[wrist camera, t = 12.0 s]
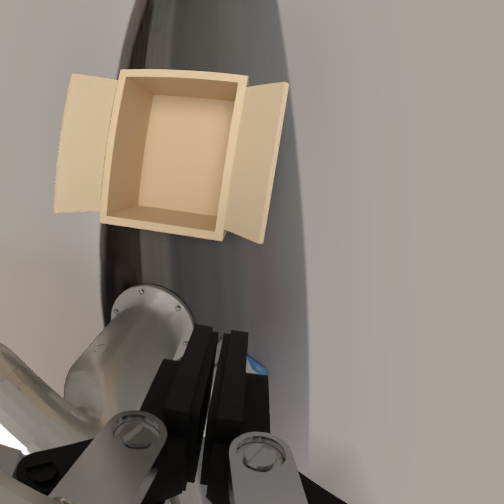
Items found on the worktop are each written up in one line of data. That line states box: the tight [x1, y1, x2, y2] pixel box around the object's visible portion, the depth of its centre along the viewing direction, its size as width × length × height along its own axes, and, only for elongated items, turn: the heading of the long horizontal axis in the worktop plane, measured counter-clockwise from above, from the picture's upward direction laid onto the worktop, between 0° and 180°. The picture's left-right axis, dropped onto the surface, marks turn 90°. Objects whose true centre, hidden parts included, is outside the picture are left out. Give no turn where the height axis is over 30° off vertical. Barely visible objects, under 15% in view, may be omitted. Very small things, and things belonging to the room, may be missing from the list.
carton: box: [100, 69, 249, 241], centre depth 33 cm, size 16×13×10 cm
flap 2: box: [224, 82, 289, 244], centre depth 27 cm, size 5×14×1 cm
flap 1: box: [54, 74, 118, 213], centre depth 26 cm, size 5×14×1 cm
